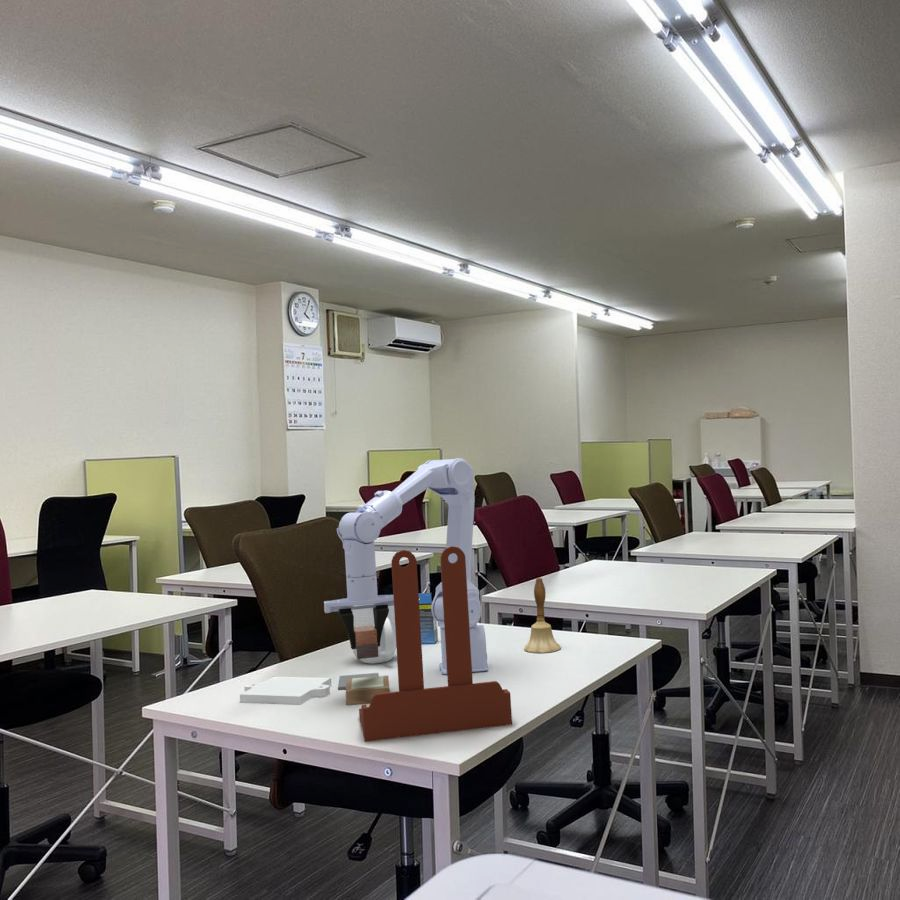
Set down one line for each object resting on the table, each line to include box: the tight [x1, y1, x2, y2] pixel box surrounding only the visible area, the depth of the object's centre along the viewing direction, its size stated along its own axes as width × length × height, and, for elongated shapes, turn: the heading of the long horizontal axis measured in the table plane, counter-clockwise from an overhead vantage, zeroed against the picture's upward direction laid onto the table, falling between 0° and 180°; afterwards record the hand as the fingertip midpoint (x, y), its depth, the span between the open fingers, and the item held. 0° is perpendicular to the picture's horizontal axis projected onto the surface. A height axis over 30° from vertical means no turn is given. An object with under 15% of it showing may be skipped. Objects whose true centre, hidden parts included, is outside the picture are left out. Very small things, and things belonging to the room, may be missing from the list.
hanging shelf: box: [358, 546, 513, 742], centre depth 144 cm, size 24×13×30 cm, turn 100°
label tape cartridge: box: [418, 592, 439, 645], centre depth 206 cm, size 9×4×12 cm, turn 77°
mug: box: [351, 604, 397, 665], centre depth 188 cm, size 15×11×13 cm
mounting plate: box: [239, 676, 332, 706], centre depth 166 cm, size 18×13×2 cm
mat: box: [337, 672, 380, 691], centre depth 172 cm, size 8×9×1 cm
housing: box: [352, 625, 379, 660], centre depth 161 cm, size 4×6×5 cm, turn 13°
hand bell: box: [523, 577, 562, 654], centre depth 191 cm, size 8×8×16 cm
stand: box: [345, 675, 390, 706], centre depth 161 cm, size 8×9×3 cm
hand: (365, 646), depth 161 cm, fingers closed on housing, 4 cm apart
